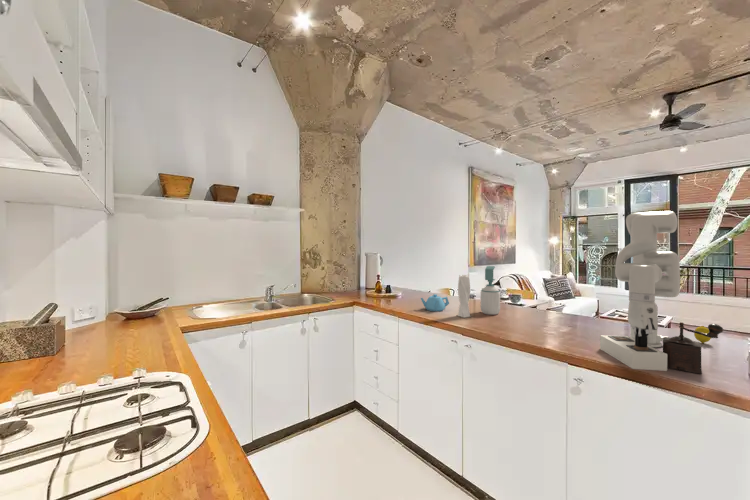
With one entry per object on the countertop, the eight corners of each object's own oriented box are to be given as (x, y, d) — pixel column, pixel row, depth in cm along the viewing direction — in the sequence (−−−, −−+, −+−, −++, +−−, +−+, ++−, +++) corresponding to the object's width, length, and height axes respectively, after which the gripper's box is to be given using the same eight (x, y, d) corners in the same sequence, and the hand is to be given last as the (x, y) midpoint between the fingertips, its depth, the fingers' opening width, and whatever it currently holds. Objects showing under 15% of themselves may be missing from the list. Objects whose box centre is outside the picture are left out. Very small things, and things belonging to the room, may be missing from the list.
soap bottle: (502, 312, 215) (502, 266, 215) (498, 316, 205) (498, 267, 204) (483, 310, 222) (483, 265, 222) (478, 314, 211) (478, 266, 211)
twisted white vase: (473, 317, 202) (474, 272, 202) (465, 318, 198) (465, 273, 197) (463, 314, 209) (463, 271, 209) (454, 316, 205) (454, 272, 204)
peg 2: (643, 359, 123) (643, 344, 123) (651, 363, 119) (651, 348, 119) (631, 359, 124) (631, 344, 124) (638, 362, 120) (638, 347, 120)
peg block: (628, 350, 138) (628, 335, 138) (667, 370, 116) (667, 353, 116) (600, 348, 140) (600, 334, 140) (632, 368, 118) (633, 351, 118)
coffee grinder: (661, 367, 119) (662, 319, 119) (662, 359, 127) (662, 314, 127) (723, 379, 108) (724, 326, 108) (719, 370, 117) (720, 320, 116)
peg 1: (623, 350, 136) (623, 337, 136) (629, 354, 132) (629, 340, 132) (612, 350, 137) (612, 336, 137) (618, 353, 133) (618, 339, 133)
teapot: (437, 313, 215) (437, 296, 215) (419, 309, 226) (419, 294, 226) (450, 309, 226) (450, 294, 226) (432, 306, 237) (432, 292, 237)
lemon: (708, 345, 144) (708, 327, 144) (691, 342, 149) (692, 325, 149) (713, 343, 147) (713, 326, 147) (696, 340, 152) (697, 323, 152)
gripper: (667, 301, 113) (666, 353, 113) (640, 295, 128) (639, 341, 128) (643, 300, 114) (642, 352, 115) (619, 294, 129) (618, 340, 129)
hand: (641, 346), depth 121 cm, fingers closed
